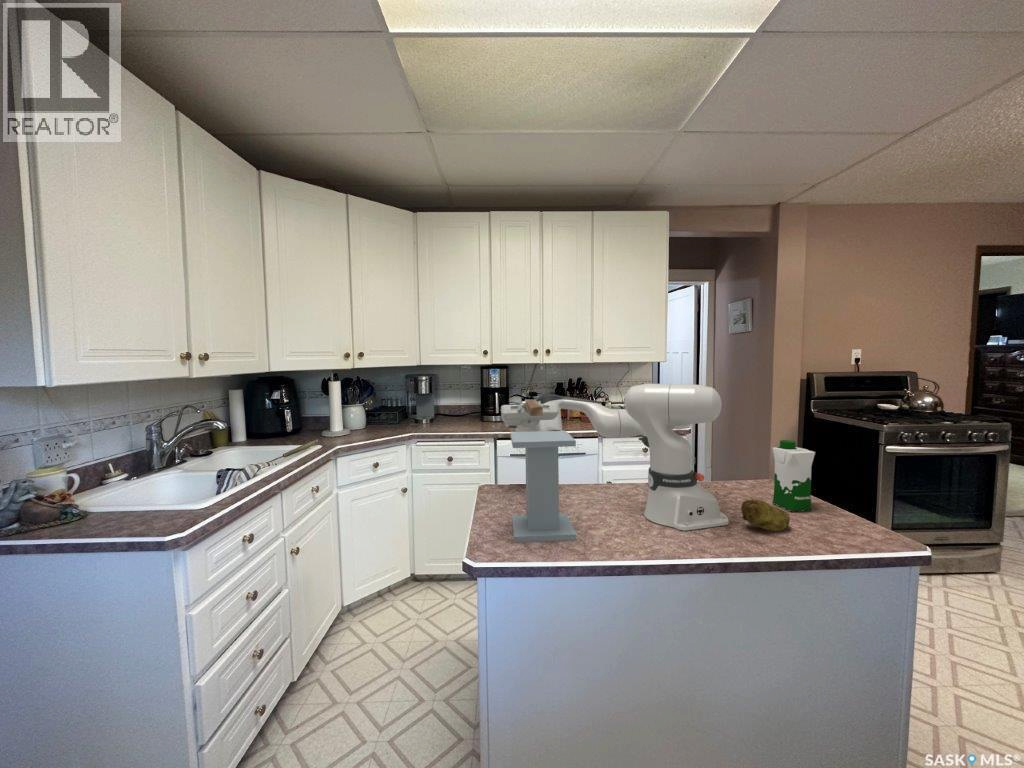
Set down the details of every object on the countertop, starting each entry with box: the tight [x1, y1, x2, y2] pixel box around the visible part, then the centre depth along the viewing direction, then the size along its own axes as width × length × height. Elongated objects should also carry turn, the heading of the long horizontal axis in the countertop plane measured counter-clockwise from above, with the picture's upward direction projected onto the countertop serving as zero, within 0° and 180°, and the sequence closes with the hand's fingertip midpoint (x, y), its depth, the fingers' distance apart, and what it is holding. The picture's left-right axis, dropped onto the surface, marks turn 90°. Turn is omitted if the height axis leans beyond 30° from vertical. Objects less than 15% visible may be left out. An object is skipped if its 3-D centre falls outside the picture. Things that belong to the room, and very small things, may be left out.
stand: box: [509, 430, 578, 543], centre depth 109 cm, size 16×14×26 cm
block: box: [524, 398, 543, 416], centre depth 129 cm, size 4×22×2 cm, turn 3°
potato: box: [740, 498, 791, 532], centre depth 108 cm, size 8×13×8 cm, turn 81°
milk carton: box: [772, 439, 816, 512], centre depth 122 cm, size 9×9×20 cm
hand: (531, 403), depth 135 cm, fingers closed on block, 3 cm apart
